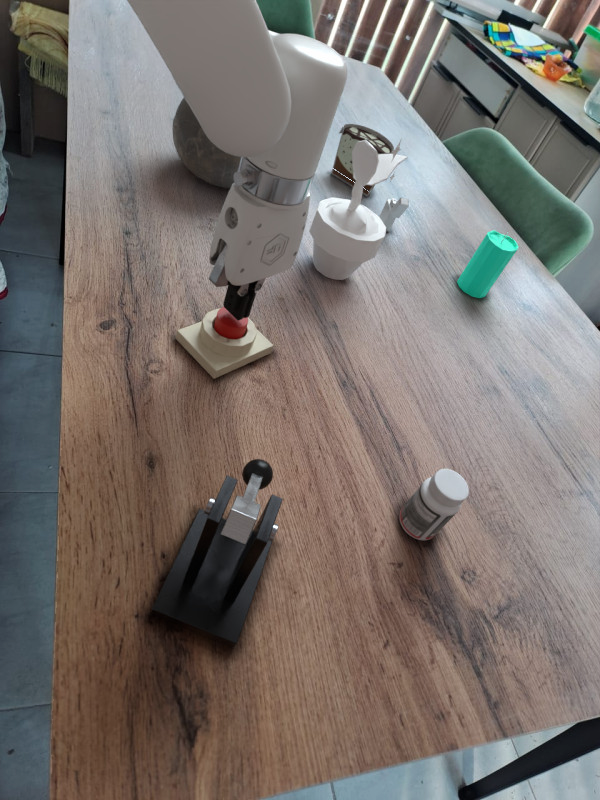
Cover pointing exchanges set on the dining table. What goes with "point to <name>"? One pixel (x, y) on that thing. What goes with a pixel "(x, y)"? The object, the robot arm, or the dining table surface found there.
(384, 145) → the food container
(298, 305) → the dining table surface
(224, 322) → the button
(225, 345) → the button box
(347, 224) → the potted plant
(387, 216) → the white flat branched piece
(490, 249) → the candle
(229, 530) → the lever
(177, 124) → the bowl
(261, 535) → the bracket
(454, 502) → the pill bottle
